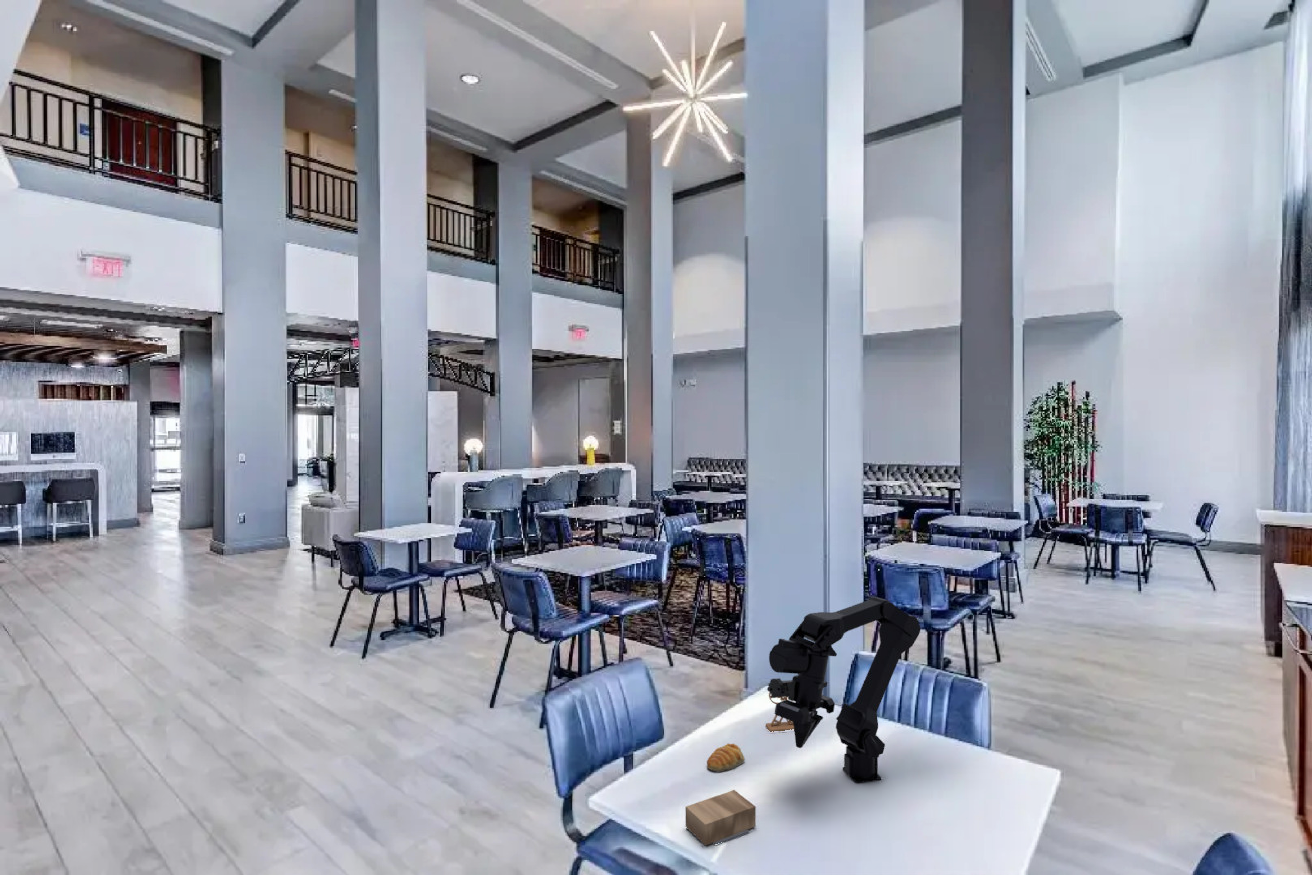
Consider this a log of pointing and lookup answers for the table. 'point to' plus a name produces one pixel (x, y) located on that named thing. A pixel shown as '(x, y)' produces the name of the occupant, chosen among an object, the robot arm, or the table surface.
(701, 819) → the block
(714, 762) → the pastry
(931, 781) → the table surface
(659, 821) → the table surface
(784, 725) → the gingerbread man figurine
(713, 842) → the mat
